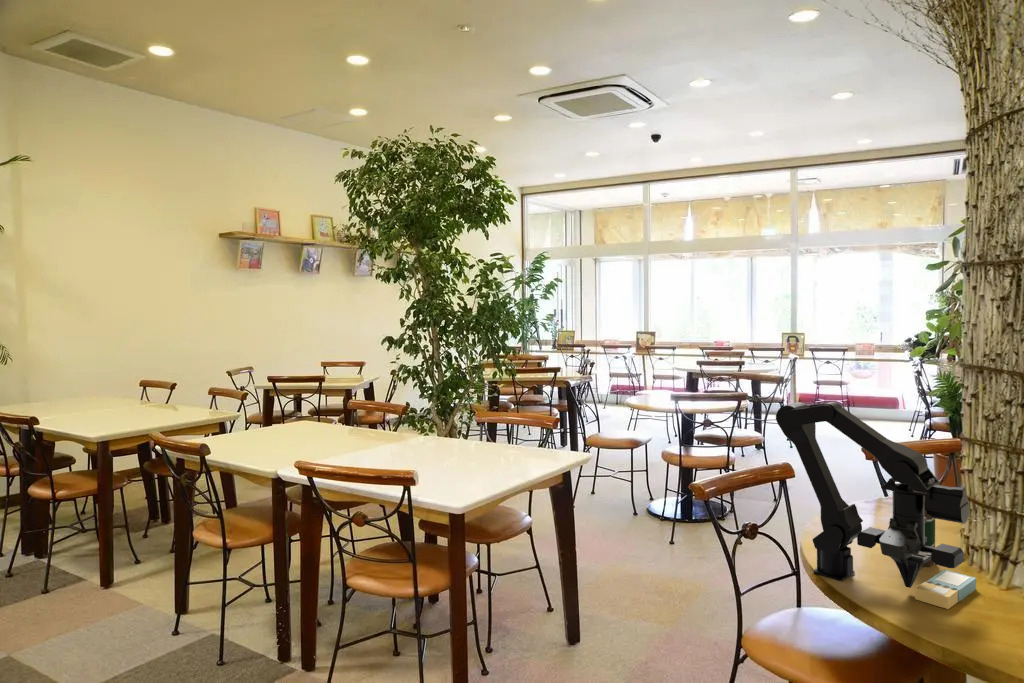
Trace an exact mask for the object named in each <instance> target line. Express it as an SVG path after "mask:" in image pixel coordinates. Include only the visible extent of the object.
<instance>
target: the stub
mask: <svg viewBox="0 0 1024 683" xmlns="http://www.w3.org/2000/svg"><path fill="white" fill-rule="evenodd" d="M914 598H915V599H914V600H917V601H920V602H923V603H926V604H930V605H933V606H936V607H940V608H943V609H946V610H949V609H950V608H952V607H953V606H955V605H956V604H957V603H958V590H956V589H952V588H947V587H945V586H940V585H938V584H933V583H931V582H927V580H926V581H924V582H922V583H920V584H919V585H918V586H916V587H915V596H914Z"/></svg>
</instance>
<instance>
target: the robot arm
mask: <svg viewBox="0 0 1024 683" xmlns="http://www.w3.org/2000/svg"><path fill="white" fill-rule="evenodd" d="M775 420H776V423H777V425H778V426H779V428H780V430H781V431H782V433H783V435H784V436H785V437H786V438H787V439H788V440H789V441H790V442H791V443H792V444H793V445H794V447H795V448H796V451H797V452H798V453H797V454H798V456H799V458H800V460H801V464H802V465H803V467H804V469H805V472H806V475H807V477H808V479H809V481H810V484H811V486H812V489H813V491H814V494H815V496H816V498H817V500H818V503H819V506H820V523H821V527H822V530H823V531H822V532H820V533H819V534H817V535H816V536H815V537H813V538H812V543H813V545H814V546H813V547H814V549H816V568H814V569H813V570H812V573H814V574H817V575H821V576H823V577H827V578H831V579H833V580H837V581H844V580H845V579H846V578H849V577H850V576H852V575H854V574H855V573H856V572H855V570H854V556H853V555H852V547H849V545H852V543H853V542H854V540H855V539H857V540H856V541H857V542H856V543H857V545H858V546H861V547H864V548H868V549H873V548H874V547H875V546H877V544H879V547H880V550H881V554H882V555H884V556H886V557H889V558H891V559H892V560H893V561H894V563H895V564H896V567H897V569H898V570H899V573H900V577H901V578H902V581H903V583H904V586H905V587H906V588H907V589H908V588H909V589H911V588H912V587H913V585H914V583H915V580H916V579H917V577H918V574H919V572H920V570H921V569H922V568H923V567H922V565H923V564H924V563H926V562H927V561H929V560H932V561H933V562H934V563H933V564H934V565H935V566H940V567H944V568H947V569H955V568H957V567H958V566H960V565H961V564H963V563H964V562H965V553H964V550H963V549H962V548H961V547H959V546H954V545H950V544H945V543H940V544H938V545H937V546H935V547H931V546H926V545H925V543H926V542H927V537H925V523H926V522H927V517H924V496H925V511H926V512H927V515H930V516H931V517H932V518H935V520H942V521H947V522H953V523H957V524H962V525H963V524H966V523H967V522H968V520H969V517H970V504H971V503H970V502H969V499H968V495H967V493H966V487H960V486H959V487H958V486H947V485H940V481H939V479H938V478H937V477H936V476H935V474H933V472H932V471H931V469H930V468H929V467H928V466H929V465H928V462H927V461H928V460H927V458H926V457H925V456H924V455H923V454H921V453H920V452H918V451H917V450H914V449H913V448H911V447H909V446H906V445H905V444H901V443H898V442H894V441H893V440H891V439H889V438H887V437H885V436H884V435H883V434H881V433H880V432H879V431H877V430H876V429H874V428H873V427H871V426H870V425H868V424H867V423H866V422H865V421H863V420H861V419H860V418H858V417H857V416H856V415H854V414H853V413H851V412H850V411H848V410H847V409H846V408H844V407H843V405H841V404H840V403H839V402H836V401H830V402H827V403H816V404H806V403H804V402H799V401H797V402H792V403H789V404H786V405H783V406H781V407H779V409H778V410H777V412H776V414H775ZM823 422H826V423H828V424H829V425H831V426H832V427H833V428H835V429H836V430H837V431H839V432H840V433H842V434H843V435H845V436H846V437H848V439H850V440H851V441H853V442H854V443H855V444H857V445H858V446H859V447H861V448H862V449H864V450H865V451H867V452H868V453H869V454H871V455H872V456H873V457H874V458H875V459H876V461H877V462H878V463H879V465H880V466H881V468H882V469H883V470H884V471H885V472H886V473H887V474H888V475H889V476H890V477H889V479H888V480H887V482H885V483H884V484H883V485H881V486H880V487H881V489H882V490H884V491H885V490H886V491H891V492H892V517H890V518H889V522H888V524H889V525H888V528H887V529H885V530H884V529H880V528H876V527H871V526H870V527H868V528H865V529H864V530H863V524H862V523H863V521H864V520H863V518H861V516H860V514H859V513H858V509H857V508H858V507H857V505H856V503H853V504H850V505H849V504H848V503H847V502H846V501H844V499H843V498H842V496H841V494H840V491H839V488H838V487H837V484H836V482H835V480H834V478H833V475H832V473H831V471H830V468H829V466H828V464H827V462H826V459H825V456H824V455H823V452H822V449H821V448H820V445H819V443H818V441H817V438H816V435H817V434H816V433H817V432H816V428H817V427H816V423H823ZM920 479H921V480H923V481H921V480H920ZM911 554H912V556H911Z"/></svg>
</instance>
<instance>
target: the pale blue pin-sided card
mask: <svg viewBox="0 0 1024 683" xmlns="http://www.w3.org/2000/svg"><path fill="white" fill-rule="evenodd" d="M926 582H931V583H933V584H938V585H940V586H945V587H947V588H952V589H956V590H958V602H961V601H963V599H965V598H966V597H968V596H969V595H970V594H971V593H973V592H975V590H976V589H977V578H976V577H974V576H971V575H965V574H962V573H958V572H956V571H951V570H946V569H943V570H942V571H940V572H939V573H937V574H935V575H934V576H933V577H931V578H929V579H927V580H926ZM958 602H957V603H958Z"/></svg>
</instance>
